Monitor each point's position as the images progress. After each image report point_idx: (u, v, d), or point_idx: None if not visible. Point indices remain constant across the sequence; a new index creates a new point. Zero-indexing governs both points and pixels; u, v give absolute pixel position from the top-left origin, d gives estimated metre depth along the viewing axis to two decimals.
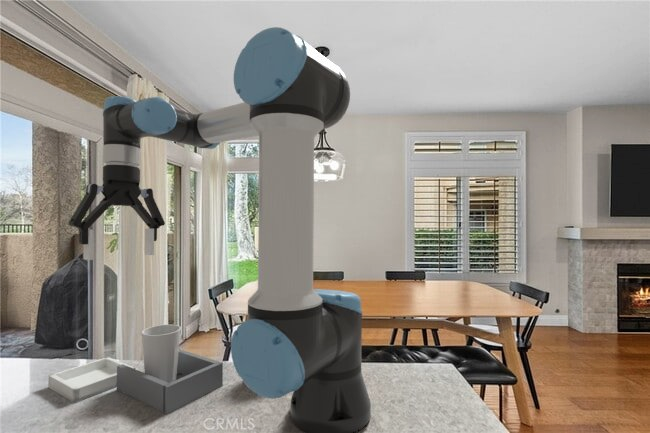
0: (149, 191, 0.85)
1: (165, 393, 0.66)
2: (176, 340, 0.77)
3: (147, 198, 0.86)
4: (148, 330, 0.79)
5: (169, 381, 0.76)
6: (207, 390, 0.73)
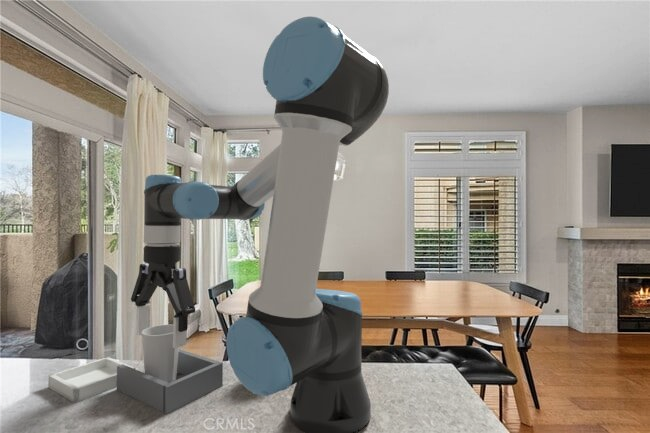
0: (173, 272, 0.74)
1: (165, 393, 0.66)
2: None
3: None
4: (148, 330, 0.79)
5: (169, 381, 0.76)
6: (207, 390, 0.73)
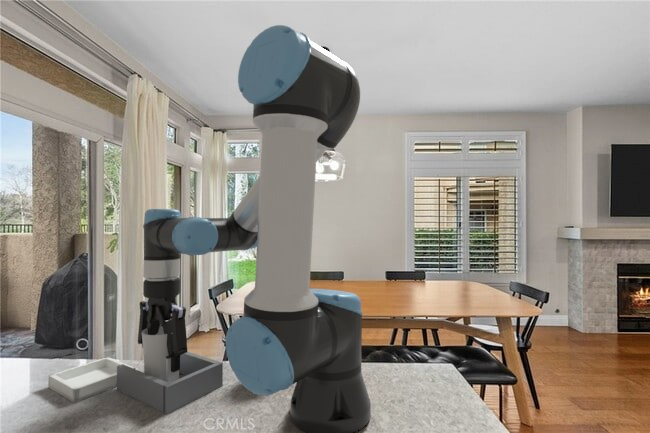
0: (173, 312, 0.74)
1: (165, 393, 0.66)
2: None
3: None
4: None
5: None
6: (207, 390, 0.73)
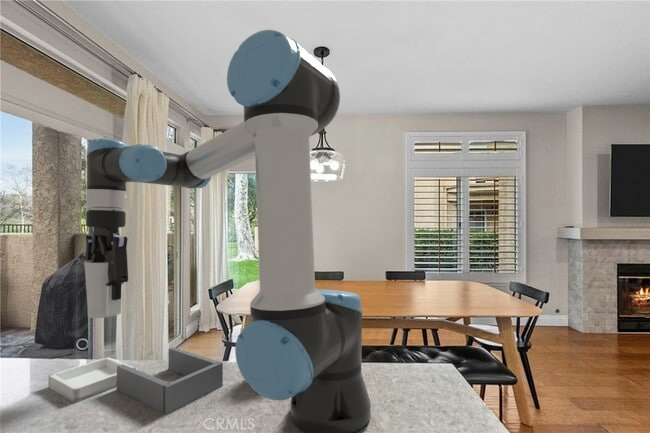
0: (113, 240, 0.74)
1: (165, 393, 0.66)
2: None
3: None
4: None
5: None
6: (207, 390, 0.73)
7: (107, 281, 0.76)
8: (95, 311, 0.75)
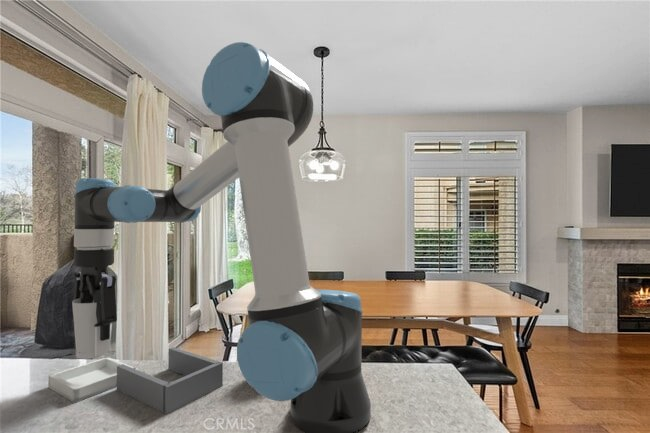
0: (101, 280, 0.74)
1: (165, 393, 0.66)
2: None
3: None
4: None
5: None
6: (207, 390, 0.73)
7: (95, 321, 0.75)
8: (83, 352, 0.75)
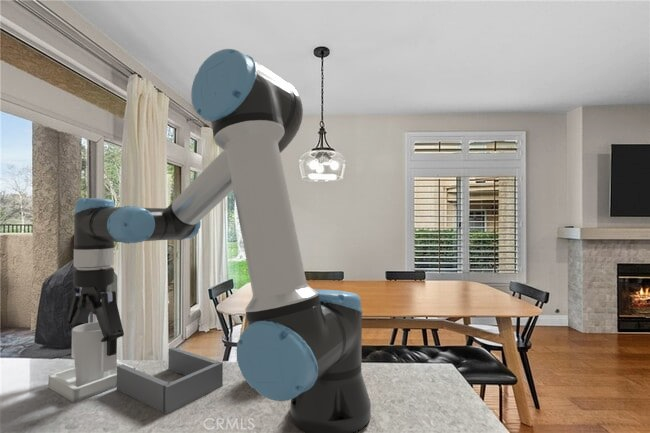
0: (101, 296, 0.74)
1: (165, 393, 0.66)
2: None
3: None
4: (81, 327, 0.79)
5: (99, 378, 0.76)
6: (207, 390, 0.73)
7: (95, 349, 0.75)
8: (83, 380, 0.75)
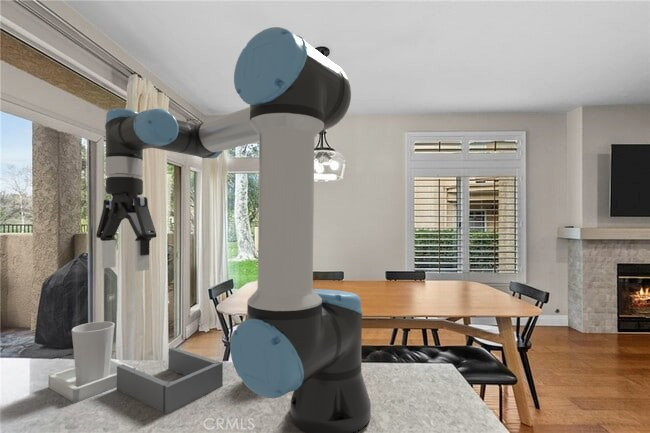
0: (134, 199, 0.77)
1: (165, 393, 0.66)
2: (107, 337, 0.77)
3: None
4: (81, 327, 0.79)
5: (99, 378, 0.76)
6: (207, 390, 0.73)
7: (95, 349, 0.75)
8: (83, 380, 0.75)
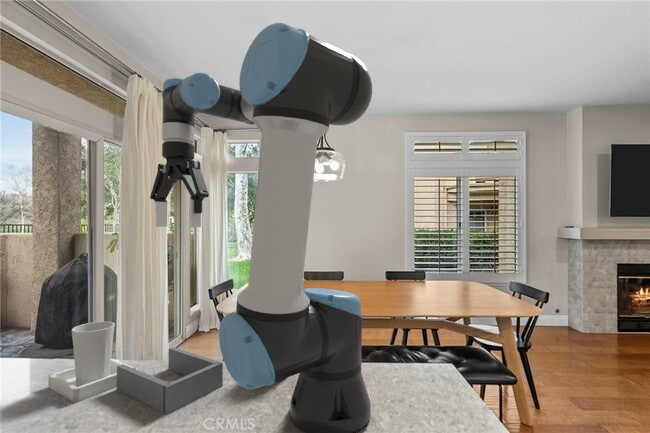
0: (189, 162, 0.84)
1: (165, 393, 0.66)
2: (107, 337, 0.77)
3: None
4: (81, 327, 0.79)
5: (99, 378, 0.76)
6: (207, 390, 0.73)
7: (95, 349, 0.75)
8: (83, 380, 0.75)
